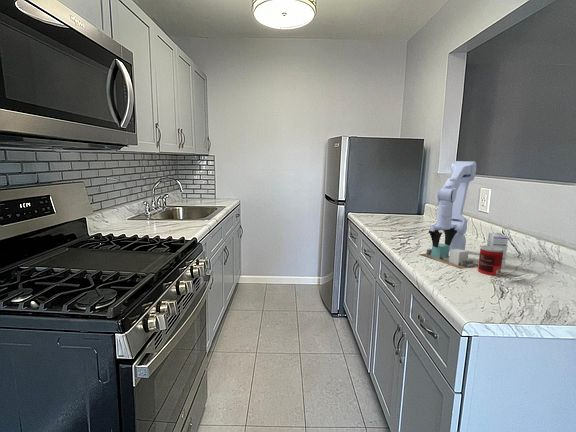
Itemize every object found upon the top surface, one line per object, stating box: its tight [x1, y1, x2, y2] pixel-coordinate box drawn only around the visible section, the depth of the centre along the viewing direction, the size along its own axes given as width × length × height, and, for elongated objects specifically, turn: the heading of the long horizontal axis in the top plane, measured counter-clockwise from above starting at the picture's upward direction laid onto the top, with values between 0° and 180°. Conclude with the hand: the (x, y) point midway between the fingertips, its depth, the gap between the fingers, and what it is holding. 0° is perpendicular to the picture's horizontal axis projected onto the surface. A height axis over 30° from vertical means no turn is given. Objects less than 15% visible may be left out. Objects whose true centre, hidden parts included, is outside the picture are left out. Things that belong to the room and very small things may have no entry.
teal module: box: [431, 242, 450, 259], centre depth 152 cm, size 6×4×6 cm
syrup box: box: [487, 232, 509, 269], centre depth 142 cm, size 6×6×14 cm
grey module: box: [449, 248, 469, 265], centre depth 144 cm, size 6×4×6 cm
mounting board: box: [418, 252, 478, 270], centre depth 149 cm, size 12×22×1 cm, turn 26°
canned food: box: [477, 244, 503, 277], centre depth 133 cm, size 8×8×11 cm
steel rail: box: [425, 248, 474, 268], centre depth 149 cm, size 4×21×2 cm, turn 26°
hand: (441, 246), depth 152 cm, fingers open, 7 cm apart
